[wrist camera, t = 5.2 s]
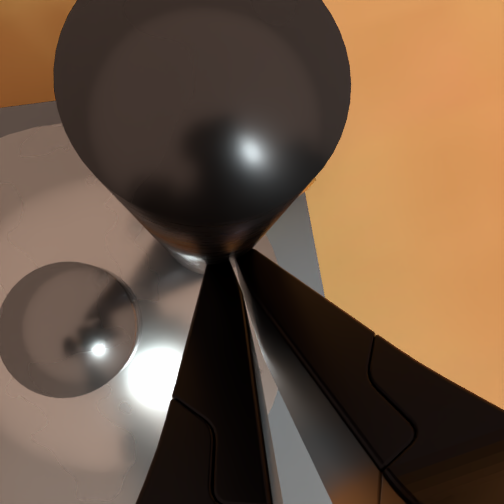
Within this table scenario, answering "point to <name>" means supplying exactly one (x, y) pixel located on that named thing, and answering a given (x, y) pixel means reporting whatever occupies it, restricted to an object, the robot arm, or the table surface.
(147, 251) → the grey round part
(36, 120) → the post base
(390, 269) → the table surface
